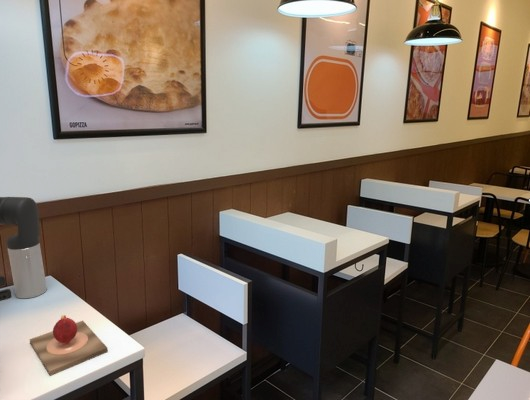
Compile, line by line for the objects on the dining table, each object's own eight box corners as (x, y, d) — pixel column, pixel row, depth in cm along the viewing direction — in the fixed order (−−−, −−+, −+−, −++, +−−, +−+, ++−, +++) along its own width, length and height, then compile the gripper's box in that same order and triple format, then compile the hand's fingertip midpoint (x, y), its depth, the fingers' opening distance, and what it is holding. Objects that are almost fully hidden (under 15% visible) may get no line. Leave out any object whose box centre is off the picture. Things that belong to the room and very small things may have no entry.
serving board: (30, 343, 112) (29, 338, 111) (83, 324, 121) (82, 319, 120) (50, 375, 99) (49, 370, 98) (107, 351, 108) (107, 346, 108)
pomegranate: (80, 344, 109) (77, 317, 107) (56, 352, 106) (52, 324, 103) (76, 334, 113) (73, 307, 111) (53, 341, 110) (49, 314, 108)
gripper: (-84, 307, 82) (10, 282, 92) (-85, 281, 92) (0, 261, 102) (-75, 340, 84) (16, 312, 94) (-77, 311, 94) (5, 289, 104)
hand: (7, 286), depth 98 cm, fingers open, 8 cm apart
